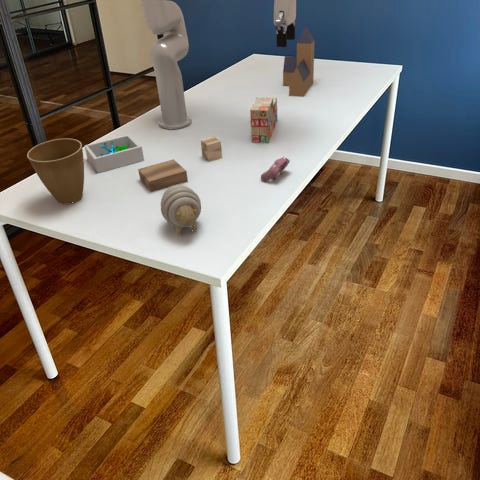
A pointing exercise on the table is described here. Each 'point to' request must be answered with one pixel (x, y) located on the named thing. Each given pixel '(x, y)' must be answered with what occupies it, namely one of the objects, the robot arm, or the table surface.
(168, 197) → the toy sheep
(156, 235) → the table surface
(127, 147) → the green blue spiky piece
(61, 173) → the plant pot
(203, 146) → the oak block
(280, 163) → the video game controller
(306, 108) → the table surface
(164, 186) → the base block
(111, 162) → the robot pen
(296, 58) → the toy building blocks
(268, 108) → the stack of blocks
